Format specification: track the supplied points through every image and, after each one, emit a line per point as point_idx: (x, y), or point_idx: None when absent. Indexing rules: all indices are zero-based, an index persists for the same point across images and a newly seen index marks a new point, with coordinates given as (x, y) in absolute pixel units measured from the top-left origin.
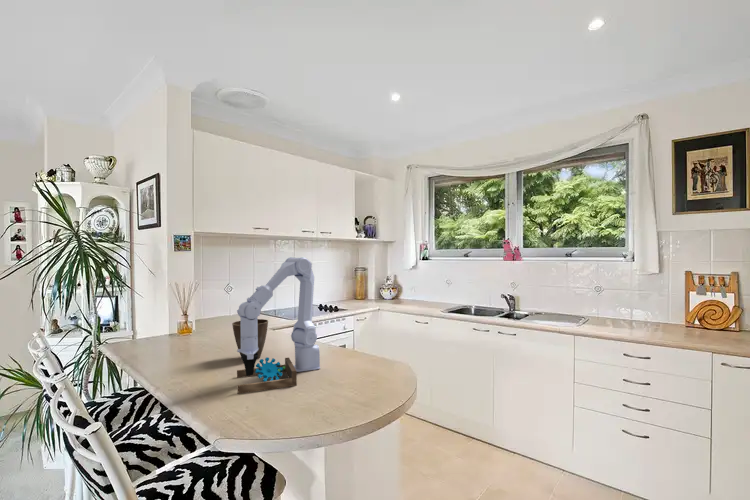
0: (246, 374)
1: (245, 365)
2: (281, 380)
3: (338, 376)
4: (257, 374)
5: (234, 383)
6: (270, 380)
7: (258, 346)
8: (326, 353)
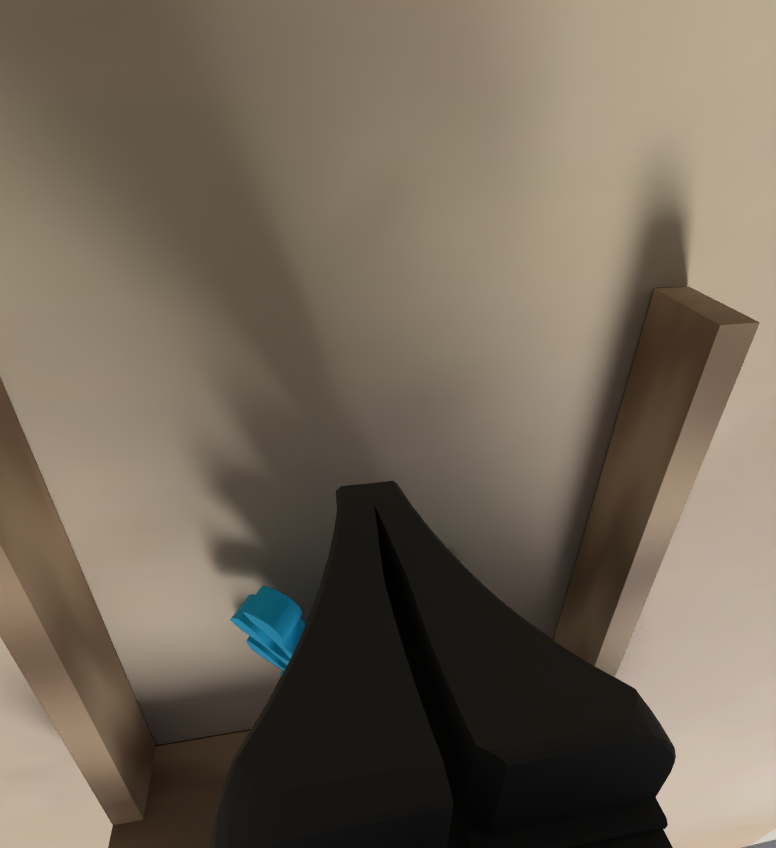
0: (337, 498)
1: (308, 629)
2: (85, 771)
3: None
4: (597, 504)
5: (438, 261)
6: (254, 647)
7: None
8: (746, 810)
